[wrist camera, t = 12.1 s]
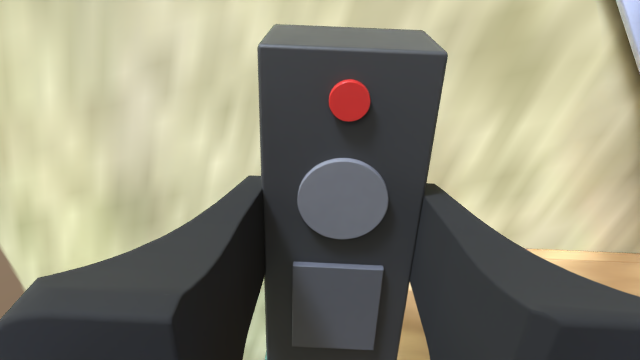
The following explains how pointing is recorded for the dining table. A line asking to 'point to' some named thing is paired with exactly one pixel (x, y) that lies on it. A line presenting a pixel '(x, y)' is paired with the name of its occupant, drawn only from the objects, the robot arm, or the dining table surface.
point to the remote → (343, 183)
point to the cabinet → (599, 267)
